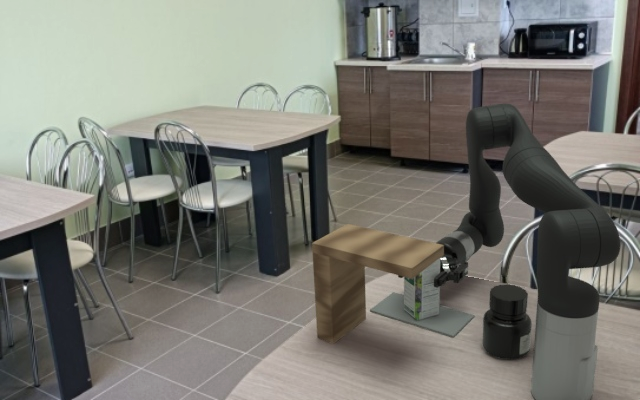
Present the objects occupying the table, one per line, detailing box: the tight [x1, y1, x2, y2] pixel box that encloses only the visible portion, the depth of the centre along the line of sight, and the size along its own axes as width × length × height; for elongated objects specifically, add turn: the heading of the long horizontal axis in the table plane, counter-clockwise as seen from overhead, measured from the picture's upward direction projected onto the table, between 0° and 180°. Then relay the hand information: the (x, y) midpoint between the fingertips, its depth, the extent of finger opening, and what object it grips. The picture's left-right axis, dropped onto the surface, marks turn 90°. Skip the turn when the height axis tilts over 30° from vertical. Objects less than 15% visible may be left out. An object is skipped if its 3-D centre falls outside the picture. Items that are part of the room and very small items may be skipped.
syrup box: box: [403, 258, 441, 321], centre depth 132 cm, size 6×6×14 cm
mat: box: [369, 291, 476, 338], centre depth 134 cm, size 20×10×1 cm, turn 53°
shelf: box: [311, 223, 444, 344], centre depth 122 cm, size 22×12×21 cm, turn 53°
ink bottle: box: [481, 284, 533, 360], centre depth 118 cm, size 10×9×12 cm
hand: (417, 278), depth 130 cm, fingers open, 8 cm apart
